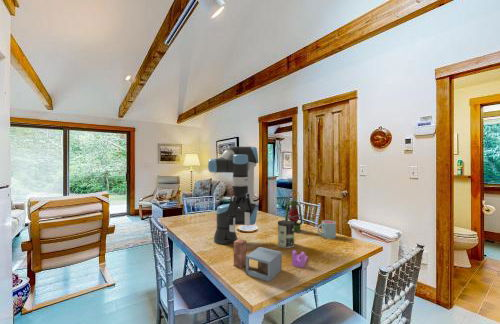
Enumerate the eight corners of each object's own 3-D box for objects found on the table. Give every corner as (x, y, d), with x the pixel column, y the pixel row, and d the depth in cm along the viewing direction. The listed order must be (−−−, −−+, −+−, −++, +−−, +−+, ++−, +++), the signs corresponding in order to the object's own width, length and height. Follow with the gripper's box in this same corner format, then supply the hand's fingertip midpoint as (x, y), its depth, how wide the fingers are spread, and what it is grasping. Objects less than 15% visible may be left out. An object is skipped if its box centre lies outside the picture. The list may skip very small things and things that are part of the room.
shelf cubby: (246, 274, 103) (246, 255, 103) (259, 263, 114) (259, 246, 114) (269, 281, 97) (269, 262, 97) (281, 269, 108) (281, 251, 108)
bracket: (303, 267, 110) (303, 253, 110) (292, 265, 113) (292, 251, 113) (308, 257, 122) (308, 244, 122) (298, 255, 124) (298, 243, 124)
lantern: (282, 230, 169) (282, 190, 169) (287, 227, 178) (287, 189, 178) (300, 233, 162) (300, 192, 162) (304, 230, 171) (305, 190, 171)
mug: (329, 233, 163) (329, 219, 163) (338, 237, 154) (338, 223, 154) (313, 235, 159) (313, 221, 159) (321, 239, 150) (321, 224, 150)
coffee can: (294, 242, 144) (294, 220, 144) (294, 248, 134) (294, 225, 134) (278, 241, 147) (278, 219, 147) (277, 247, 136) (277, 223, 136)
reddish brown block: (233, 266, 111) (233, 241, 111) (238, 262, 116) (239, 238, 116) (267, 275, 102) (267, 249, 102) (272, 271, 106) (272, 245, 106)
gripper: (232, 188, 100) (231, 236, 100) (258, 183, 121) (258, 223, 121) (218, 187, 104) (218, 233, 103) (246, 183, 125) (246, 221, 125)
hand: (240, 228), depth 112 cm, fingers open, 13 cm apart
